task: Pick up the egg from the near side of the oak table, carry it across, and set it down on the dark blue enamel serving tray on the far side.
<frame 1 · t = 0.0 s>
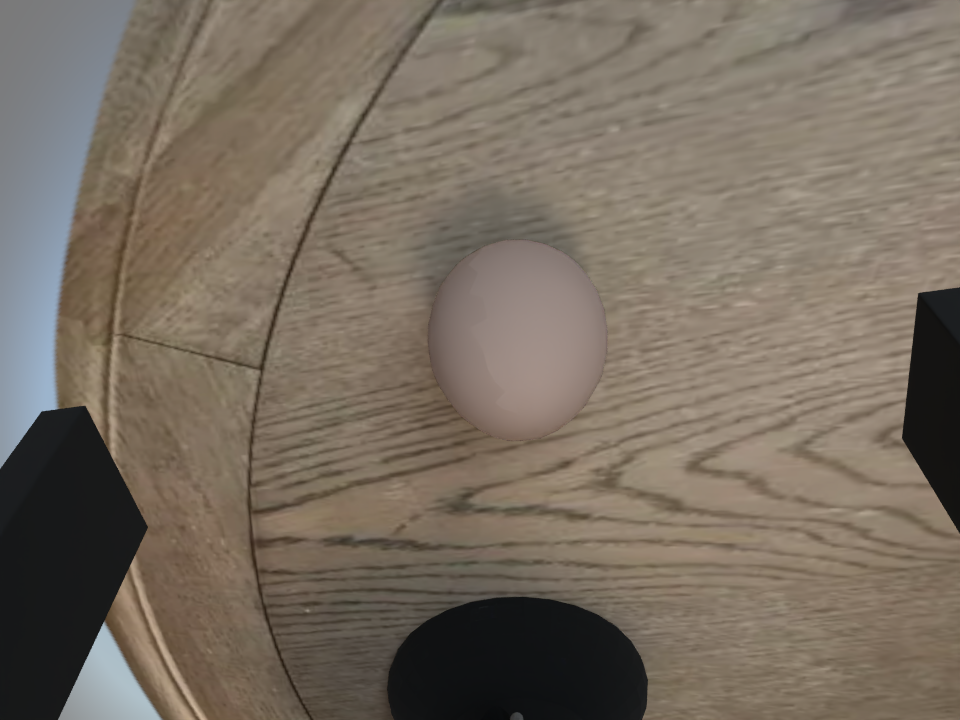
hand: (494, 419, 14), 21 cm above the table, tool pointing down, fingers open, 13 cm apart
egg: (515, 278, 37), on the table
lantern: (514, 683, 51), on the table
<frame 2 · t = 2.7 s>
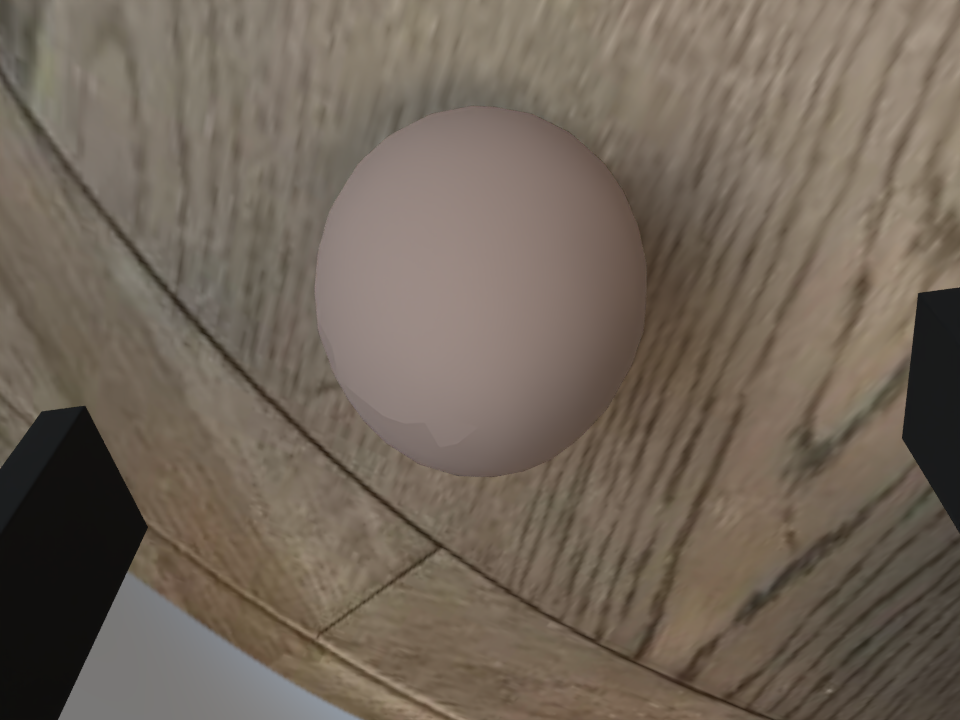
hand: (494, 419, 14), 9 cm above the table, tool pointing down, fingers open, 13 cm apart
egg: (482, 194, 22), on the table
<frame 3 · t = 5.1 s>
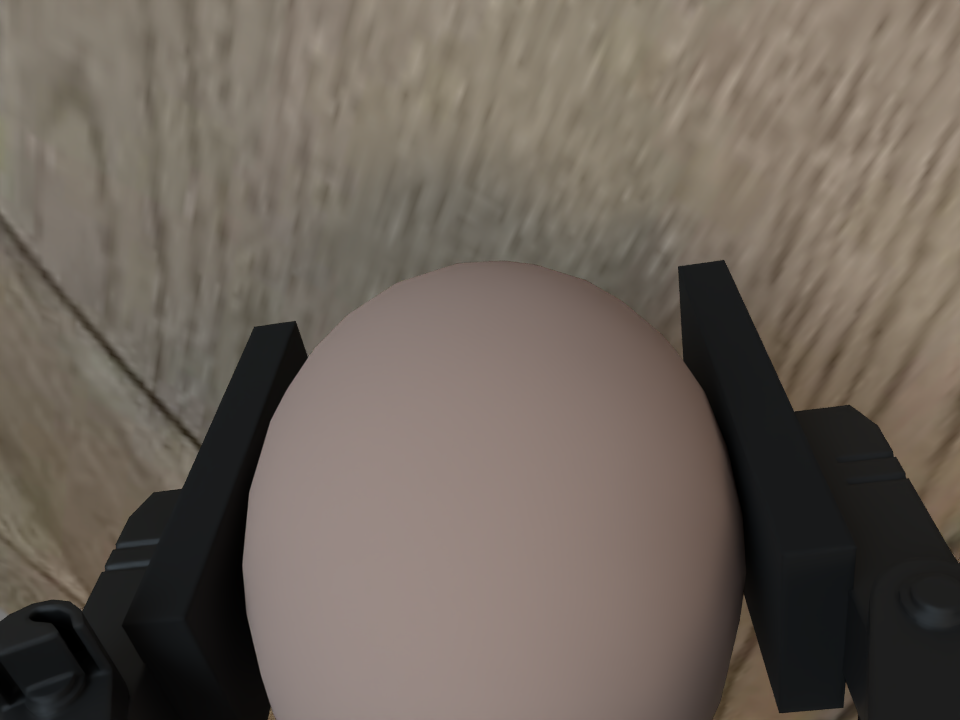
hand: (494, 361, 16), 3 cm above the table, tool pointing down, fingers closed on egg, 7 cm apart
egg: (495, 344, 16), point 2 cm above the table, touching gripper
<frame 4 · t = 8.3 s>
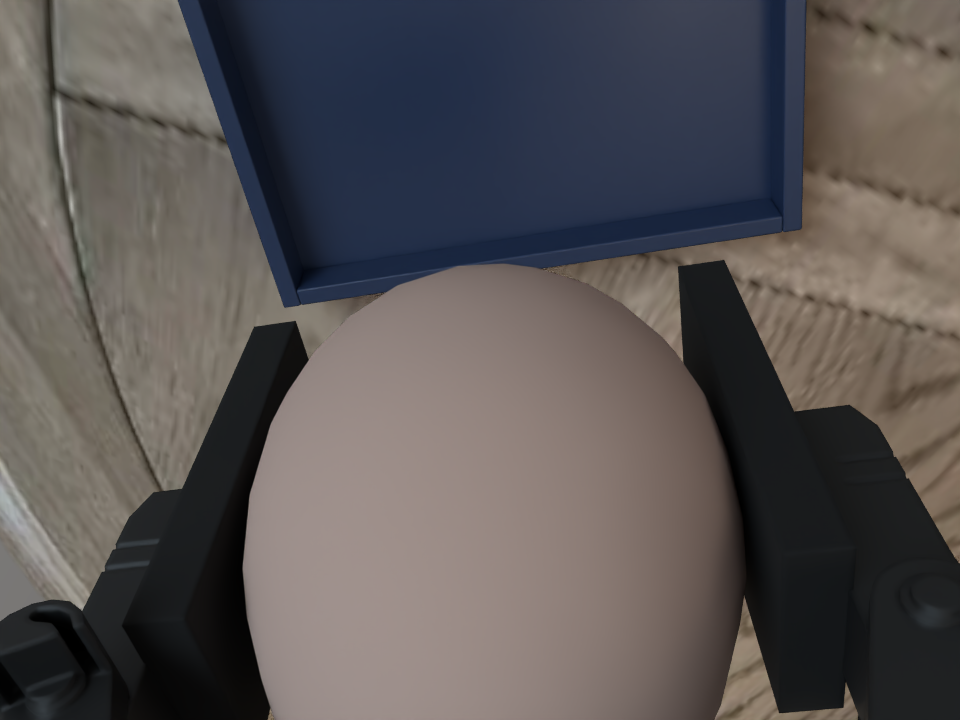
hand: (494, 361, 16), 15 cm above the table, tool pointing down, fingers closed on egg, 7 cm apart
egg: (495, 346, 16), point 14 cm above the table, touching gripper
tray: (496, 17, 27), on the table
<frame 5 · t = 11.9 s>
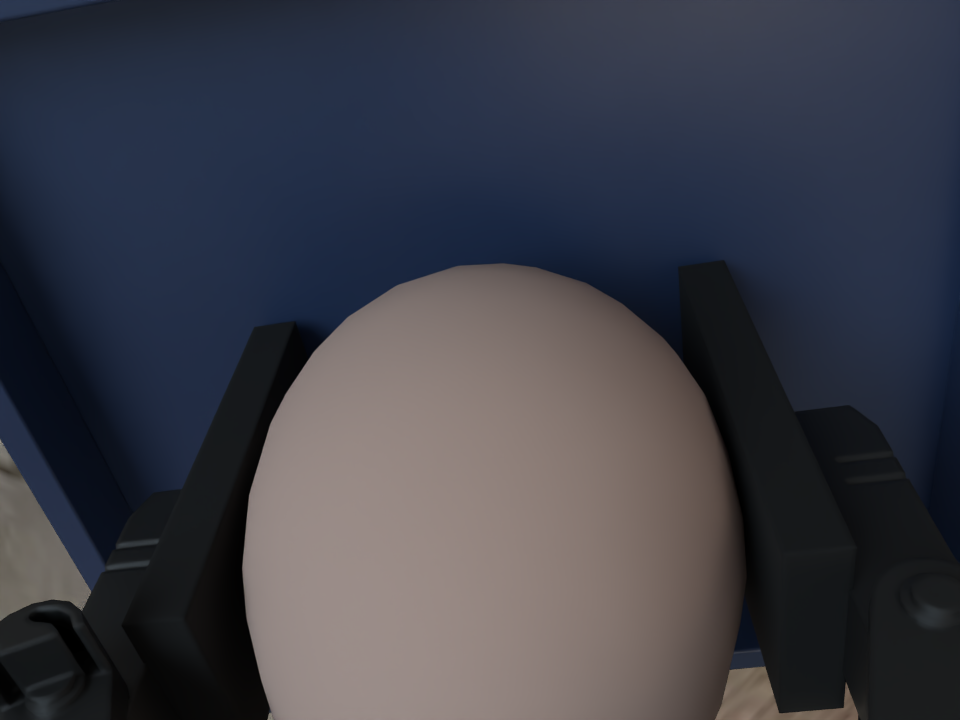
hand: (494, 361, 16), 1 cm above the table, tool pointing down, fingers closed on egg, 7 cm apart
egg: (495, 346, 16), resting on tray, touching gripper
tray: (495, 335, 16), on the table
when the fingers open (1 cm above the table, at t = 11.9 s): egg stays where it is, resting on tray.
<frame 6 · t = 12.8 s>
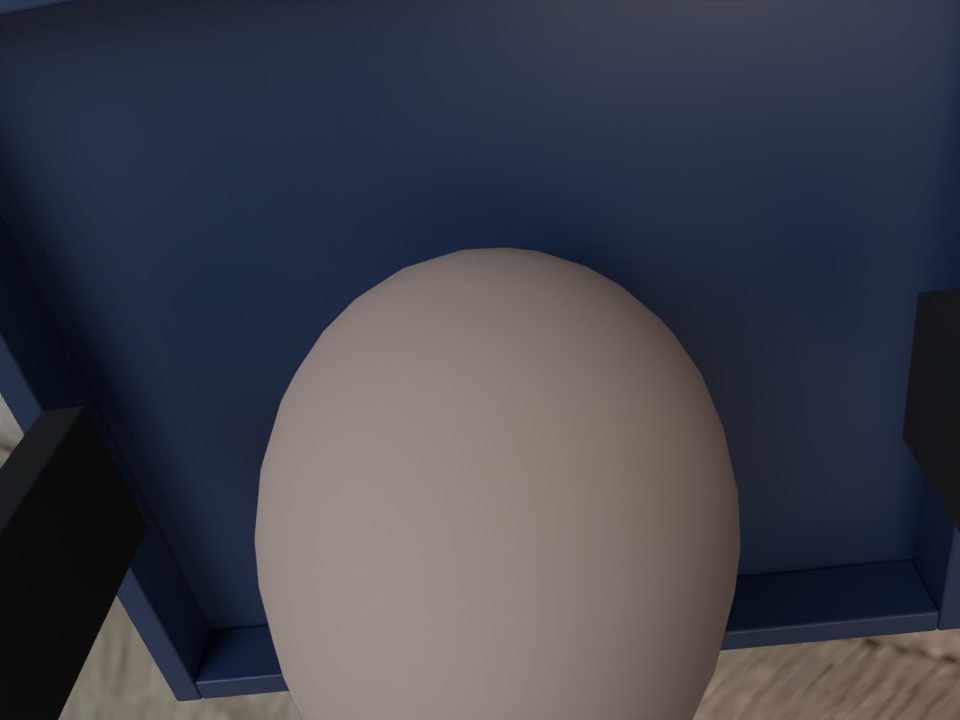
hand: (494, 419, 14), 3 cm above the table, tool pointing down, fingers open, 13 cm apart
egg: (497, 331, 17), resting on tray
tray: (497, 320, 17), on the table
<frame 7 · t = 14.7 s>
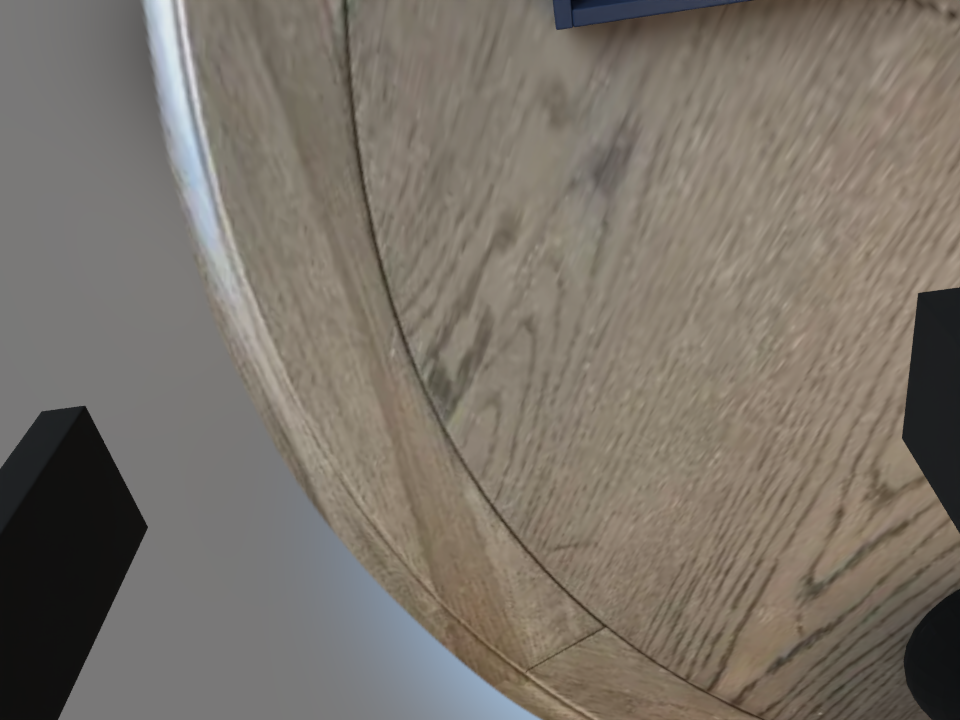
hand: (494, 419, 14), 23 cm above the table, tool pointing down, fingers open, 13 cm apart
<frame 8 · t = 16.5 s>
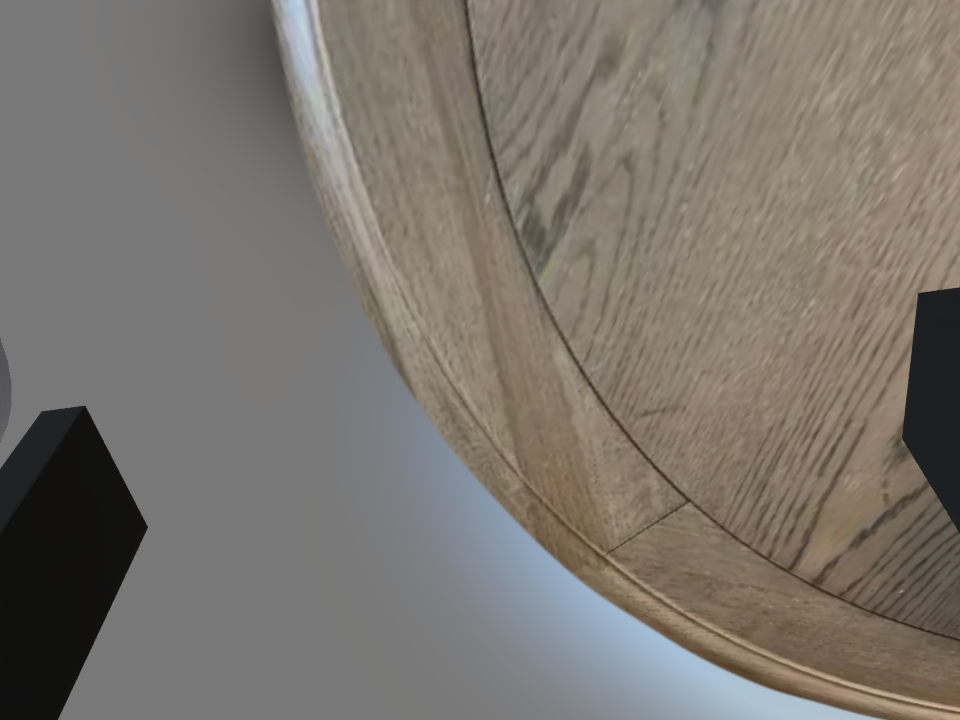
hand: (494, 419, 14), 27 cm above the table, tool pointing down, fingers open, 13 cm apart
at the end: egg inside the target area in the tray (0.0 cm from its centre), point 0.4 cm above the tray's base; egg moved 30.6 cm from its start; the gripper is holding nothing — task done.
